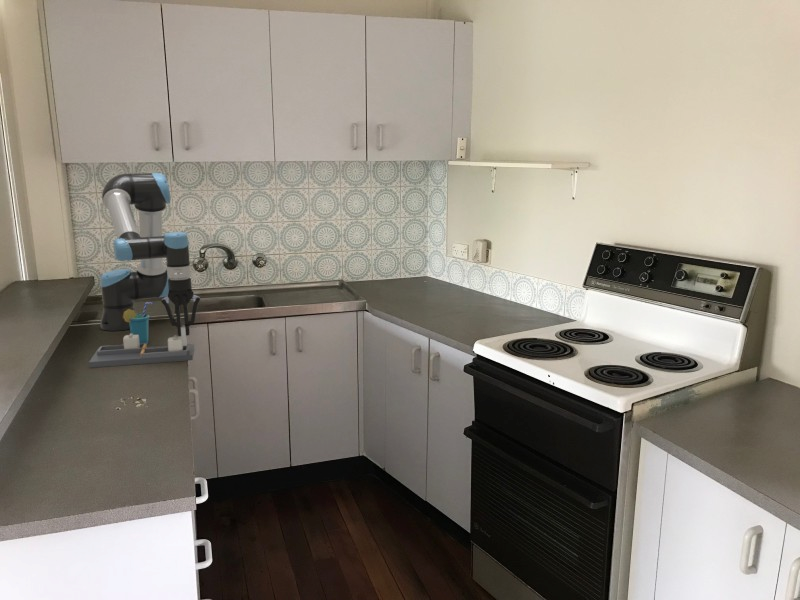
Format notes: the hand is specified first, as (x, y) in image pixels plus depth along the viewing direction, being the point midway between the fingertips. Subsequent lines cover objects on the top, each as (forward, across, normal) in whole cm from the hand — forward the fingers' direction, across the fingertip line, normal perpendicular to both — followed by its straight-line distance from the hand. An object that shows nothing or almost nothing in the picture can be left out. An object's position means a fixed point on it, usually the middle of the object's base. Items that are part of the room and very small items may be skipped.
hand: (184, 344), depth 234 cm
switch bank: (+5, -14, +4) cm, 15 cm away
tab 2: (+3, -3, 0) cm, 4 cm away
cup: (+5, -17, +24) cm, 29 cm away
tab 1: (+3, -18, +7) cm, 20 cm away
